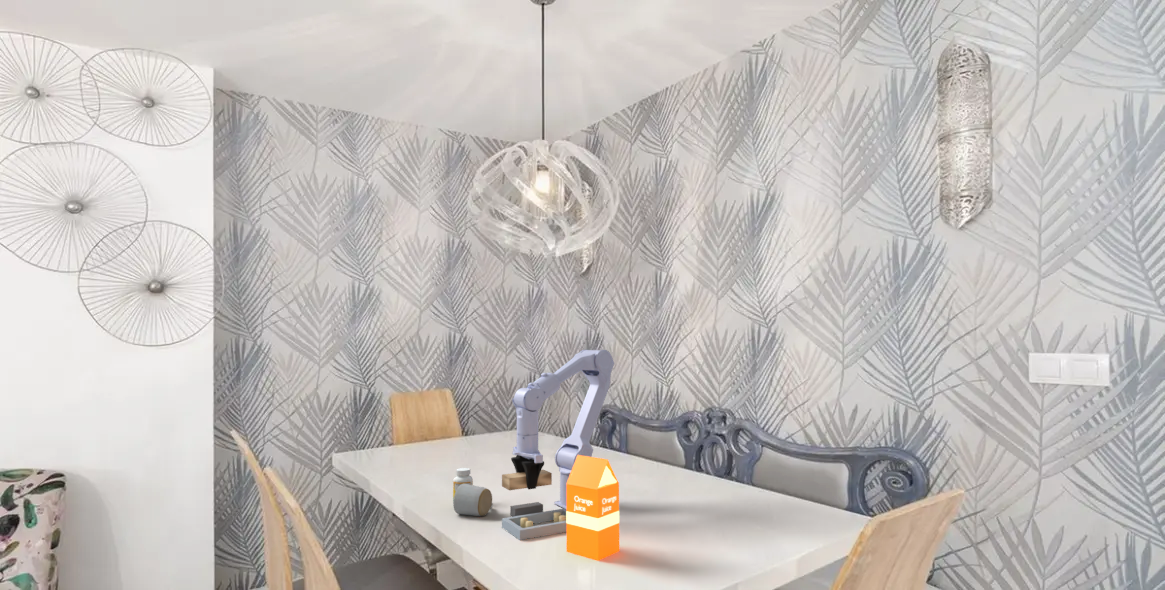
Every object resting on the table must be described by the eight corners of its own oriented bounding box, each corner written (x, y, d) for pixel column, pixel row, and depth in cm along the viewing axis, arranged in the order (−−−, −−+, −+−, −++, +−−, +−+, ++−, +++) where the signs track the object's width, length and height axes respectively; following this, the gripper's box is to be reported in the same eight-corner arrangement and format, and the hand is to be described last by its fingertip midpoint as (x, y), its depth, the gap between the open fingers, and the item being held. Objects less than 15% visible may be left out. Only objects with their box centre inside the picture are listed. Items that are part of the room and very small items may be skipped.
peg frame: (564, 517, 153) (564, 507, 153) (585, 528, 144) (585, 517, 144) (501, 527, 144) (501, 517, 145) (519, 540, 135) (519, 529, 135)
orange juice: (588, 542, 134) (588, 452, 135) (620, 551, 128) (619, 456, 130) (565, 551, 128) (565, 457, 129) (597, 561, 122) (597, 462, 124)
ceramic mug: (479, 520, 151) (480, 489, 151) (452, 517, 153) (452, 486, 154) (499, 509, 161) (500, 480, 161) (473, 507, 163) (473, 478, 164)
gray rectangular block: (538, 511, 158) (538, 501, 158) (543, 514, 156) (543, 504, 156) (510, 515, 154) (510, 506, 154) (515, 518, 152) (515, 508, 152)
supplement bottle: (465, 507, 162) (466, 471, 163) (449, 505, 164) (449, 470, 165) (476, 502, 167) (476, 467, 168) (459, 500, 169) (460, 466, 170)
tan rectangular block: (543, 480, 160) (543, 469, 161) (551, 484, 156) (551, 473, 156) (501, 486, 154) (502, 474, 155) (509, 490, 150) (509, 478, 150)
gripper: (502, 431, 161) (502, 482, 160) (524, 438, 148) (524, 494, 147) (526, 429, 164) (526, 479, 163) (550, 436, 152) (550, 490, 150)
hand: (527, 486), depth 155 cm, fingers closed on tan rectangular block, 5 cm apart
